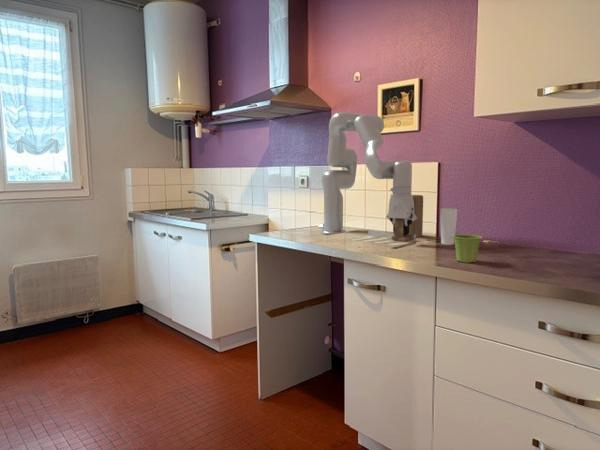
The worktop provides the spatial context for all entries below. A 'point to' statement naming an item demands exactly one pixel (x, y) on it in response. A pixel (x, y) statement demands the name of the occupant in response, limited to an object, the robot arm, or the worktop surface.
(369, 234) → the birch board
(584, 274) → the worktop surface
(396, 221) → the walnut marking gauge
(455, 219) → the drinking glass
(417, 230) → the wooden block
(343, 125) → the robot arm
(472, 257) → the plant pot
